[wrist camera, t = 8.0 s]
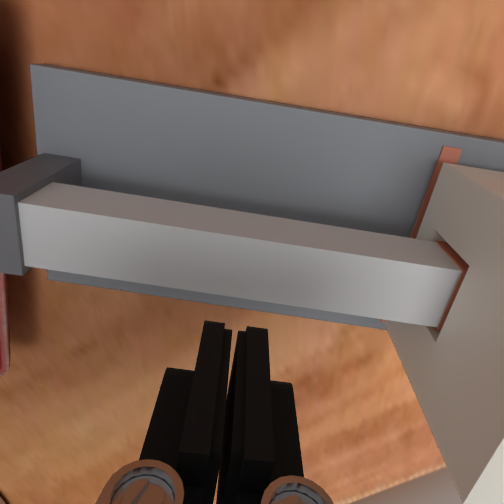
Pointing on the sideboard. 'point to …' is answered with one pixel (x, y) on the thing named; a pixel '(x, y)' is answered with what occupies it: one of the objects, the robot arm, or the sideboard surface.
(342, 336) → the sideboard surface
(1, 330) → the plant saucer
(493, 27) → the sideboard surface
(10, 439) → the sideboard surface
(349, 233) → the gray slide rail base
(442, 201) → the white sliding block
